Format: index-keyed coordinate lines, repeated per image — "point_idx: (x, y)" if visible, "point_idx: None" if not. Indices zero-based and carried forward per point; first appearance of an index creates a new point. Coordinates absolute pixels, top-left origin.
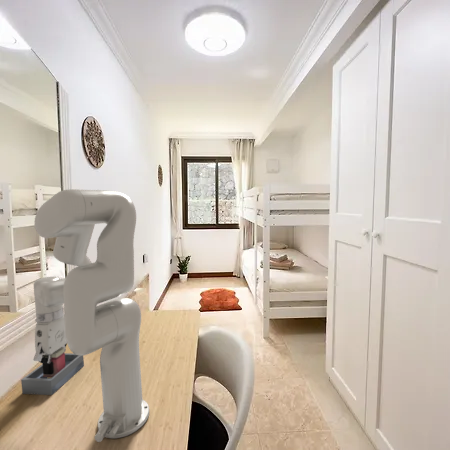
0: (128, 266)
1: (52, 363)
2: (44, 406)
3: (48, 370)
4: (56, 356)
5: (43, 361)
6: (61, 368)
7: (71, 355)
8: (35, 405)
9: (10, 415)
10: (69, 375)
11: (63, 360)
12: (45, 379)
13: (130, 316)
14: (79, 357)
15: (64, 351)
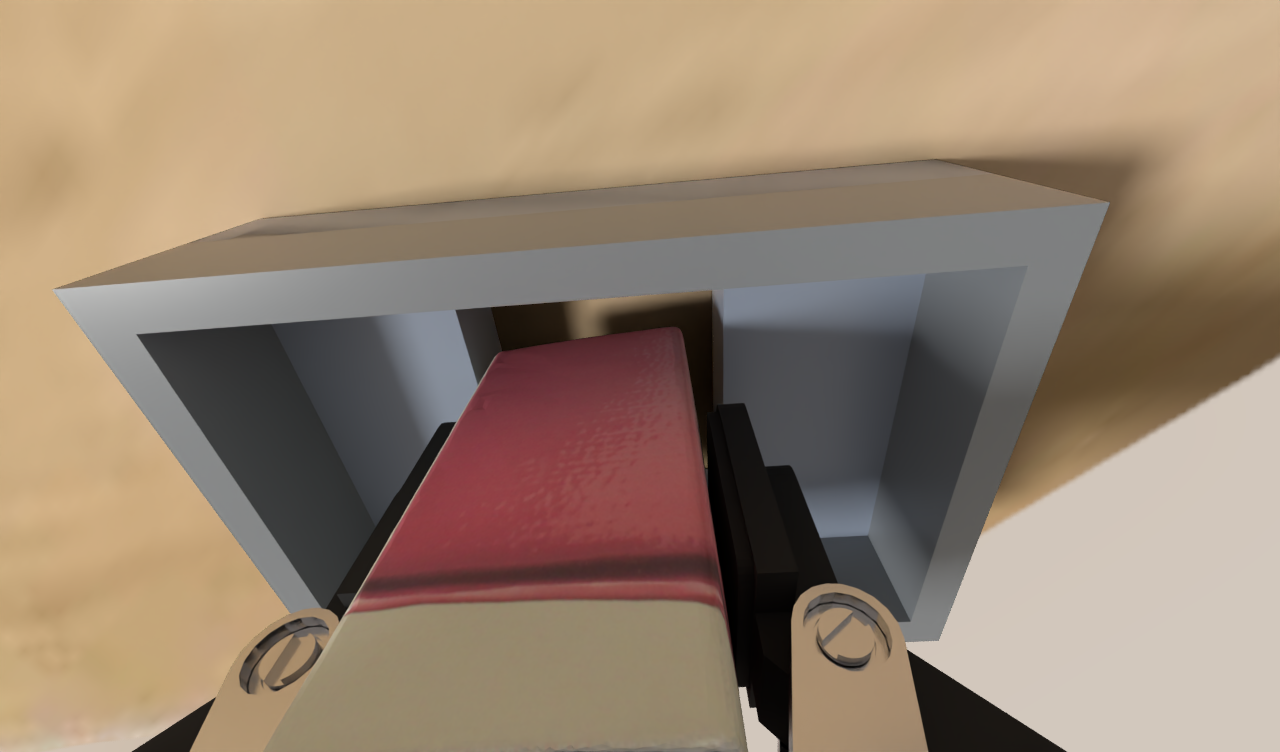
0: None
1: (758, 536)
2: (1191, 59)
3: (788, 483)
4: (712, 635)
5: (1046, 745)
6: (581, 374)
7: (248, 473)
8: (1116, 219)
9: (1211, 360)
10: (571, 202)
11: (486, 451)
12: (1024, 350)
13: None
14: (194, 271)
15: (308, 621)
